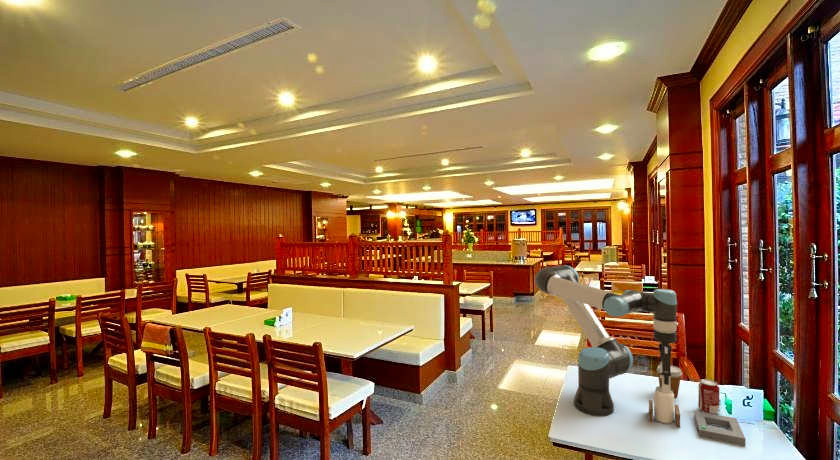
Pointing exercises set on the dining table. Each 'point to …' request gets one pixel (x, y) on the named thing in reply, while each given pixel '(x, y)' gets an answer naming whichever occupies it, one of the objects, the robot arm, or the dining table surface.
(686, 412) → the dining table surface
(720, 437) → the port block
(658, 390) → the can
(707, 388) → the soda can
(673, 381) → the disposable coffee cup
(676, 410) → the brown narrow blocks
